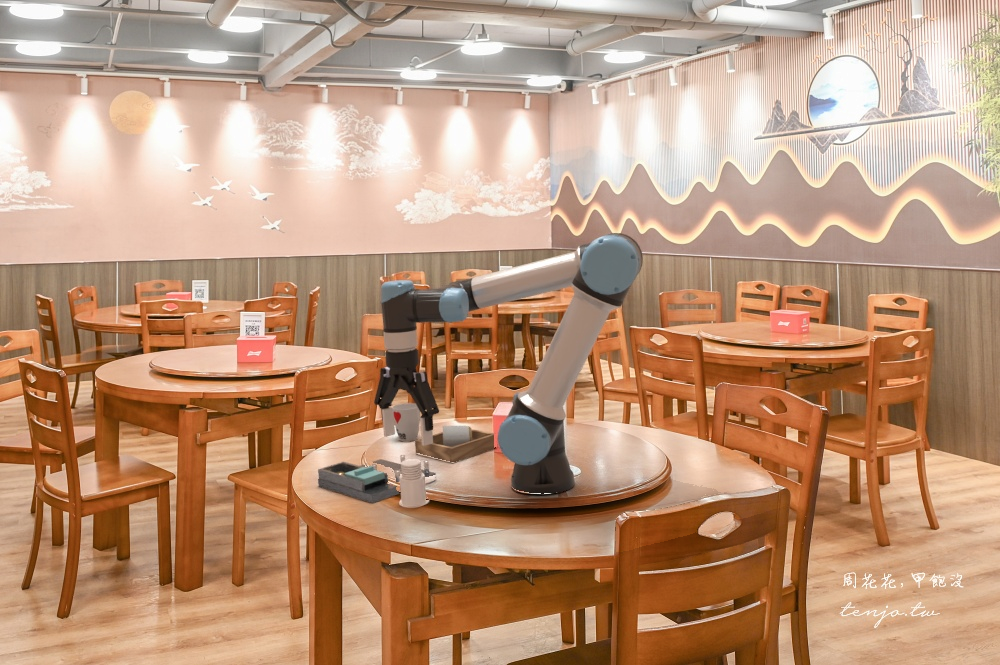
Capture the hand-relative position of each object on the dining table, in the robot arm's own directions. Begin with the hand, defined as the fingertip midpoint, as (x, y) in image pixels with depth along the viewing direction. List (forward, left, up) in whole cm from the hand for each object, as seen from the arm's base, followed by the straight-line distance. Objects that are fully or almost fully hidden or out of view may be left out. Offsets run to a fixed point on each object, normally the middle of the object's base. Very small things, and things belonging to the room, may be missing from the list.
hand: (408, 439), depth 208 cm
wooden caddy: (+23, -35, -15) cm, 45 cm away
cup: (+45, -36, -15) cm, 60 cm away
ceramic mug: (+23, -36, -15) cm, 45 cm away
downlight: (0, 0, -15) cm, 15 cm away
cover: (+16, +2, -12) cm, 20 cm away
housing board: (+19, -4, -15) cm, 24 cm away
